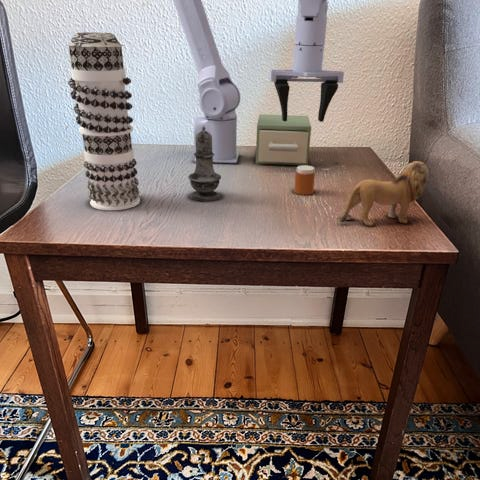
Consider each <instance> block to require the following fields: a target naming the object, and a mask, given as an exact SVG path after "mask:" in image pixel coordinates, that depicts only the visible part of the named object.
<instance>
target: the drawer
mask: <svg viewBox="0 0 480 480" xmlns="http://www.w3.org/2000/svg"><path fill="white" fill-rule="evenodd" d="M308 134H309V133H308V132H305V131H304V130H275V129H263V130H260V131H259V155H258V161H260V162H287V163H306V155H307V144H308Z"/></svg>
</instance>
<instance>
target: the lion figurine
mask: <svg viewBox="0 0 480 480" xmlns="http://www.w3.org/2000/svg"><path fill="white" fill-rule="evenodd" d="M429 175H430V172H429V168H428V165H427V164H425V163H424V162H422V161H417V160H414V161H412V162H409V163H407V164H406V165H404V170H403V171H402V172H400V173H399V176H397V177H396V178H395V179H393V180H389V181H388V180H387V181H380V180H375V179H371V178H370V179H369V178H368V179H364V180H361V181H360V182H358V183H357V184H356V185H355V186H354V187H353V189H352V191H351V193H350V195H349V197H348V200H347V203H346V205H345V207H344V211H343V215H342V216H341V219H340V220H339V223H344V222H345V221H346V220H351V219H352V215H351V214H349V213H350V212H351V210H353V208H355V207H356V206H358V205H360V204H361V206H362V211H361V214H360V217H361V219H362V220H363V222H364V224H365V225H366V226H369V227H373V226H374V221H373V220H370V219H369V213H370V211H371V209H372V208H373V205H374V203H376V204H379V205H383V206H389V211H388V214H387V215H388V217H389V218H391V219H395V218H397V213H396V208H397V206H398V204H399V207H400V209H399V210H400V211H399V215H398V221H399V223H402V224H407V223H408V219H407V218H406V215H407V213H408V211H409V208H410V204H411V203H413V202H416V200H418V199H419V198H420V197H421V196H422V193H423V191H424V190H425V187H426V186H427V182H428V180H429V177H430V176H429Z"/></svg>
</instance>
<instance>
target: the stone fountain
mask: <svg viewBox="0 0 480 480" xmlns="http://www.w3.org/2000/svg"><path fill="white" fill-rule="evenodd" d="M205 129H206V128H205V127H204V126H203V127H202V131H201V132H199V133H198V134H197V135H196V153H195V152H194V153H193V156H194V158H195V157H196V162H195V169H194V171H193V172H191V173H190V174H188V176H187V179H188V180H189V184H190V185H191V188H192V189H193V190H194V191H193V192H192V193H190V198H191V199H192V200H194V201H198V202H212V201H216V200H219V198H220V197H221V195H220V194H219V193H218V192H217V191H216V189H218V188H219V185H220V180H221V178H222V175H221V174H219V173H217V172H215V169H214V162H213V156H214V153H213V152H212V135H211V134H210V133H209V132H207V131H205Z"/></svg>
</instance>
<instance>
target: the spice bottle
mask: <svg viewBox="0 0 480 480" xmlns="http://www.w3.org/2000/svg"><path fill="white" fill-rule="evenodd" d="M294 173H295V174H294V175H295V176H294V187H293V192H294V193H295V194H296V195H301V196H302V195H303V196H307V195H308V196H309V195H312V194H314V188H315V179H316V171H315V167H314V166H312V165H297V167H296V170H295V172H294Z"/></svg>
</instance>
